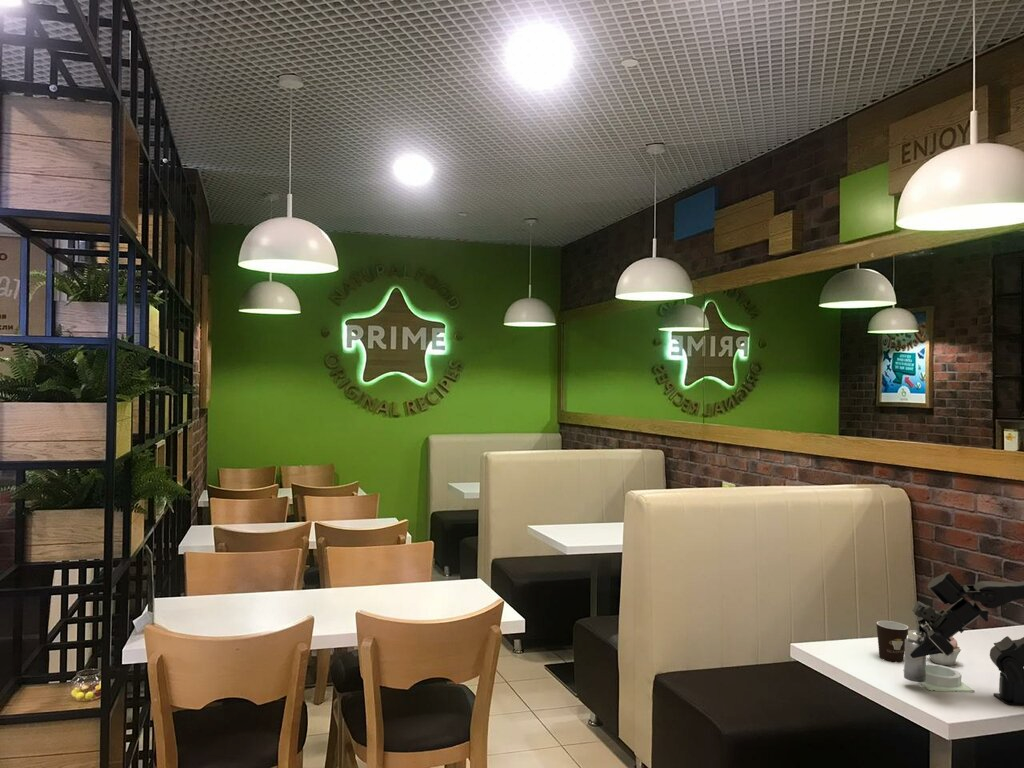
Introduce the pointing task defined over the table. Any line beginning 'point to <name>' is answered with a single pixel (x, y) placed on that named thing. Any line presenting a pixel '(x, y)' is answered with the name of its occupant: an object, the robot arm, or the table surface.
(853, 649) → the table surface
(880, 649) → the coffee mug
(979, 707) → the table surface
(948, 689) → the ring plate
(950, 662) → the cupcake
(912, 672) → the metal bottle
